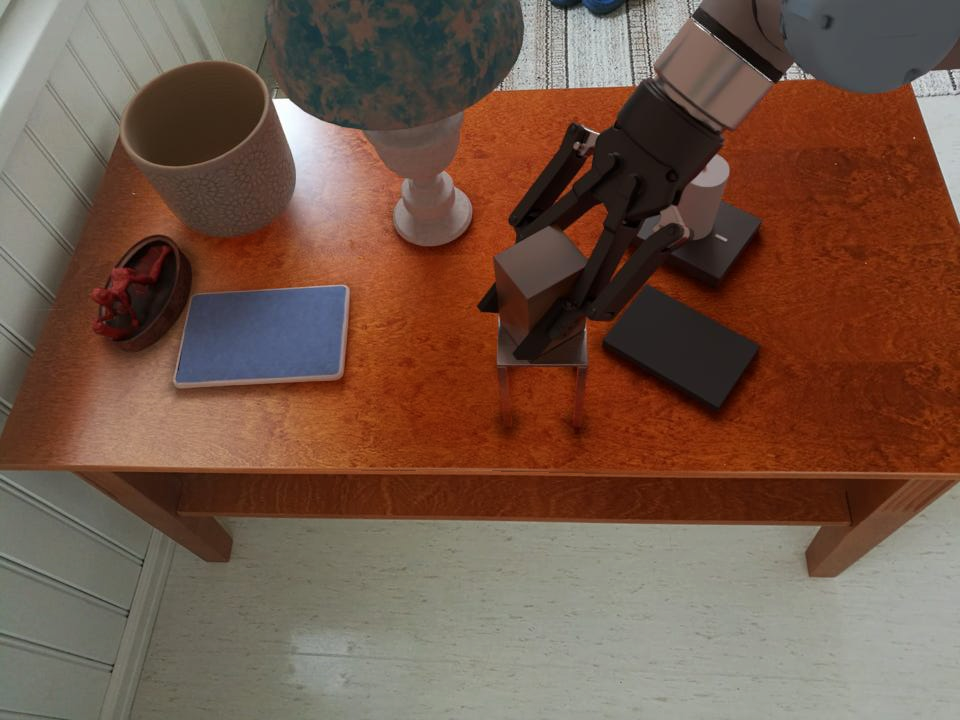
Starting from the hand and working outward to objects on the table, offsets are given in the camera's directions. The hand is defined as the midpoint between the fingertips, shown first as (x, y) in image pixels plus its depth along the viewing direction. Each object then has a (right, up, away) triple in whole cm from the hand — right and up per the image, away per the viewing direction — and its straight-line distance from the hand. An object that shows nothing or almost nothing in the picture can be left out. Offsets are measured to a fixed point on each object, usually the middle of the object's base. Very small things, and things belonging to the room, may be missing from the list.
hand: (506, 332), depth 64 cm
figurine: (-42, +5, +25) cm, 49 cm away
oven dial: (+22, +14, +22) cm, 34 cm away
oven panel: (+22, +13, +24) cm, 35 cm away
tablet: (-27, 0, +21) cm, 34 cm away
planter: (-33, +18, +31) cm, 49 cm away
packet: (+3, +1, +3) cm, 4 cm away
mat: (+19, -1, +16) cm, 25 cm away
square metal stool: (+4, -6, +15) cm, 17 cm away
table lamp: (-8, +15, +28) cm, 33 cm away
